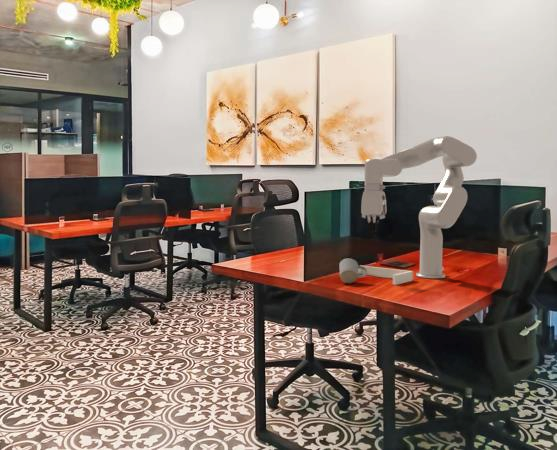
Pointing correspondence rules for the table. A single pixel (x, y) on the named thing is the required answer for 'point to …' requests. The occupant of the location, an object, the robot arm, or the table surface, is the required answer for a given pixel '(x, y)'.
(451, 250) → the table surface
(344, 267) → the ceramic mug
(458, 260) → the table surface
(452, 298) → the table surface
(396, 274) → the white u-shaped bracket
